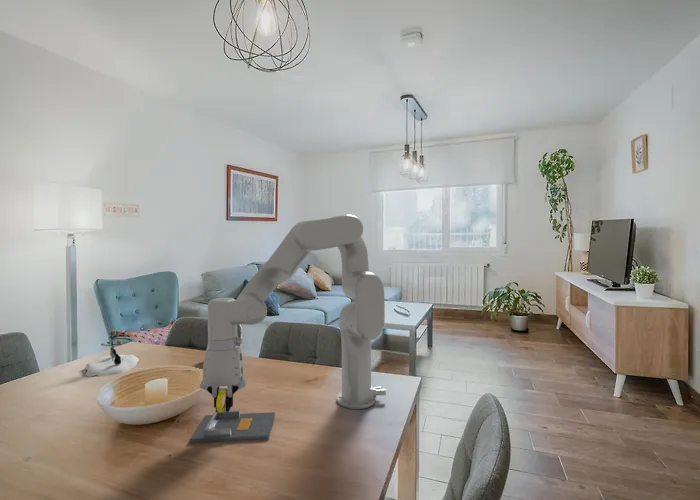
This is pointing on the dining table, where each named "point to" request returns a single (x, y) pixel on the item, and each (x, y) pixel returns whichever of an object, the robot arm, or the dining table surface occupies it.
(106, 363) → the figurine
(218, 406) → the watch
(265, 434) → the gray fixture board
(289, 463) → the dining table surface
